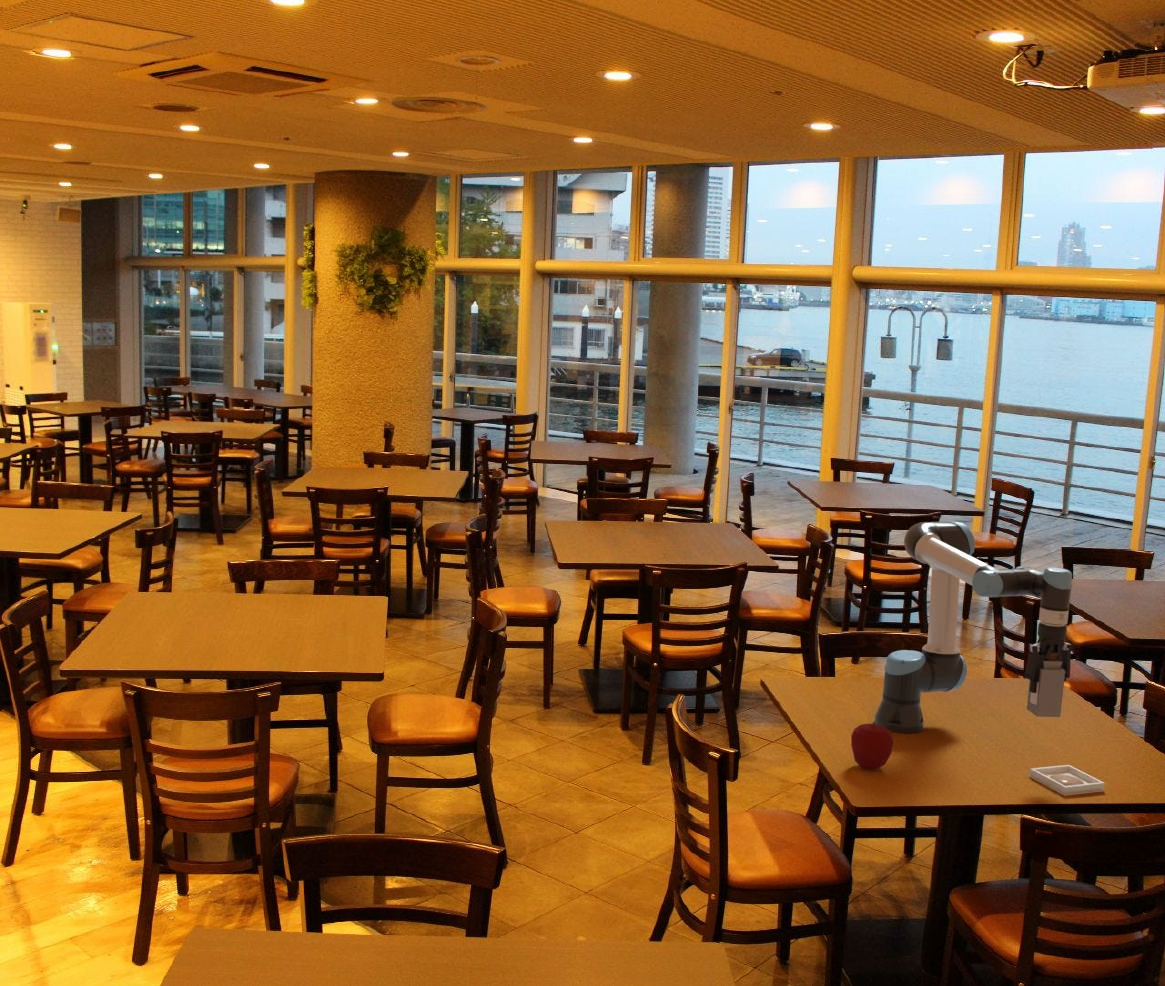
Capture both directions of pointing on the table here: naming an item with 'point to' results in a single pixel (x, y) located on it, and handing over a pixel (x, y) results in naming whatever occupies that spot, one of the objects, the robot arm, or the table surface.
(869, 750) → the apple
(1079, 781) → the tray
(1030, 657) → the robot arm
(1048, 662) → the perfume bottle
